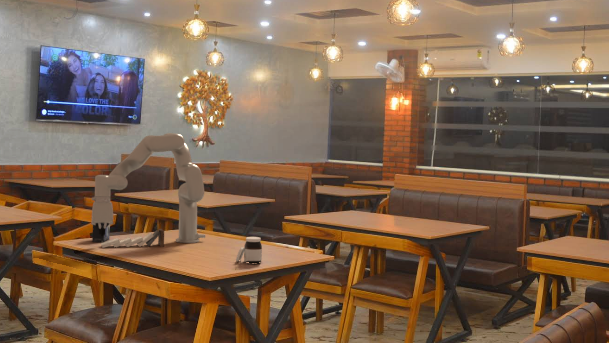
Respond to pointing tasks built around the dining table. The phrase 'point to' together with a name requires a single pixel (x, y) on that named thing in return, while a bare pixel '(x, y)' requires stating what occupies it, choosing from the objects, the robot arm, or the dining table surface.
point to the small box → (97, 237)
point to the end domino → (153, 238)
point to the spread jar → (251, 250)
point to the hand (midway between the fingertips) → (102, 236)
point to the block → (161, 238)
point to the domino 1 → (110, 243)
